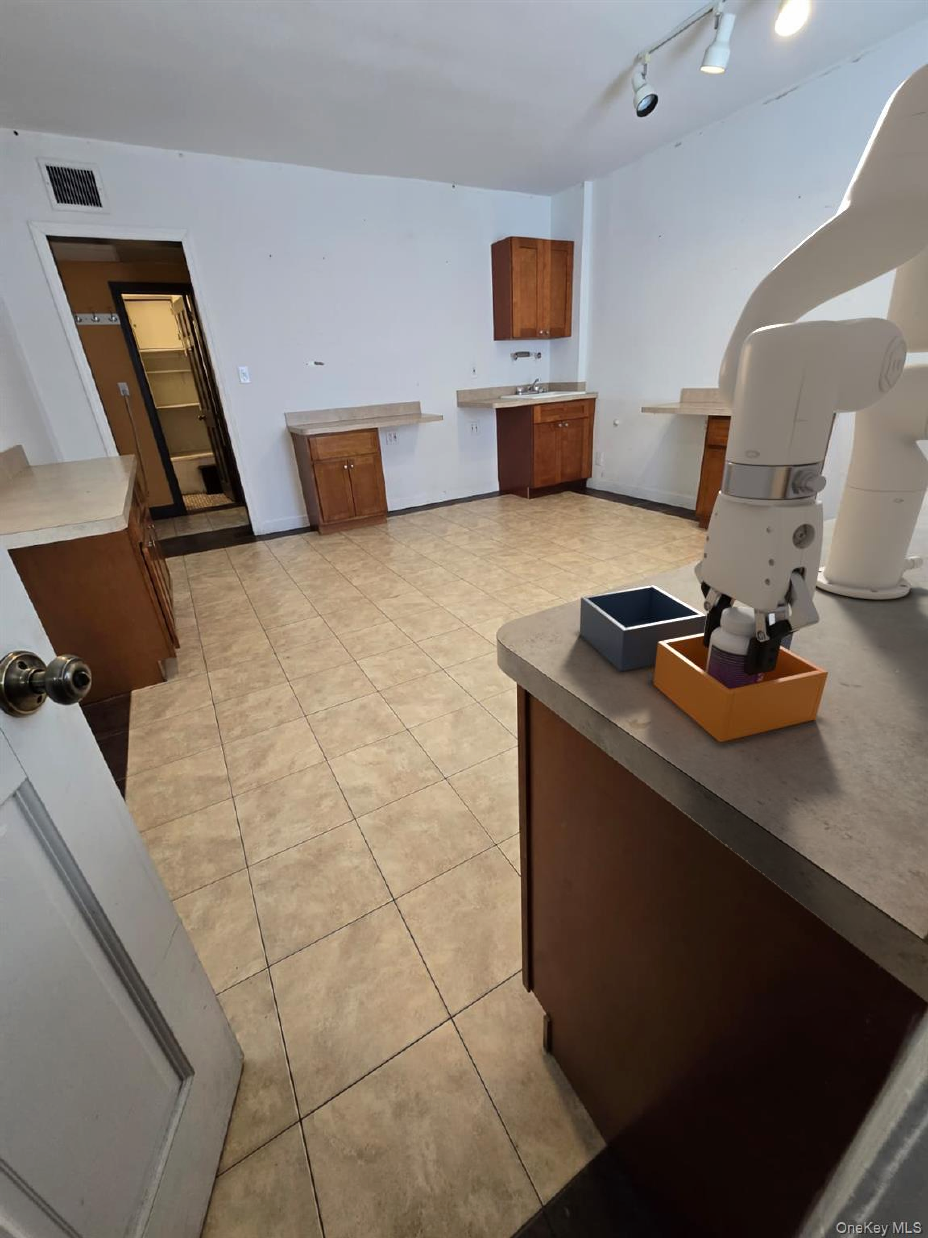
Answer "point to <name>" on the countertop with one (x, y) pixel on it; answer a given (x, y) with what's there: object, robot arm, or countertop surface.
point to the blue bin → (636, 624)
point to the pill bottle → (732, 648)
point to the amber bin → (738, 691)
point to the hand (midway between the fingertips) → (737, 656)
